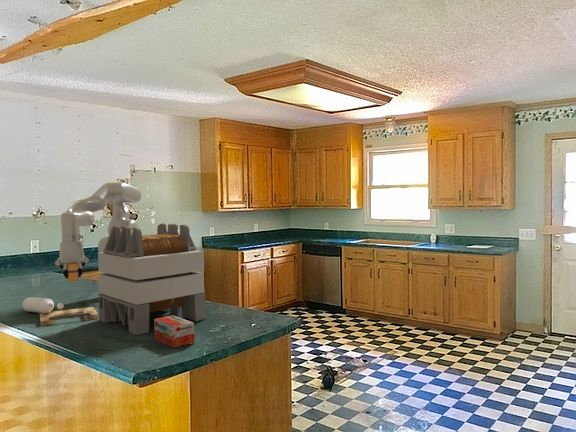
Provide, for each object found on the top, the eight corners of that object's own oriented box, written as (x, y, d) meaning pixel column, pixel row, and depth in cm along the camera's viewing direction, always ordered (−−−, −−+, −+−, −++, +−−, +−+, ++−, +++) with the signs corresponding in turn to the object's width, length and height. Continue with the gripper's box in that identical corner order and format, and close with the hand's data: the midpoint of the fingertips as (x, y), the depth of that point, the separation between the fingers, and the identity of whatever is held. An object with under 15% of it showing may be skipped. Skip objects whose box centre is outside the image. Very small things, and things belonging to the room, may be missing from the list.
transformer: (207, 319, 203) (205, 224, 201) (136, 336, 180) (133, 228, 178) (165, 306, 227) (163, 221, 225) (97, 320, 204) (94, 225, 202)
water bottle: (21, 311, 219) (41, 314, 202) (23, 297, 220) (43, 298, 203) (41, 311, 225) (62, 313, 208) (42, 297, 226) (64, 298, 209)
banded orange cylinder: (78, 278, 226) (77, 262, 225) (79, 280, 222) (78, 263, 221) (67, 279, 224) (66, 263, 223) (67, 281, 219) (66, 264, 219)
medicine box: (195, 344, 170) (194, 322, 169) (175, 349, 164) (174, 326, 164) (173, 335, 181) (172, 314, 180) (153, 340, 175) (153, 318, 175)
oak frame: (93, 311, 220) (93, 304, 220) (98, 318, 206) (98, 311, 206) (39, 317, 210) (39, 310, 210) (40, 326, 196) (40, 318, 195)
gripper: (89, 236, 229) (91, 274, 230) (50, 239, 220) (52, 278, 222) (91, 238, 222) (93, 276, 223) (50, 241, 214) (53, 281, 215)
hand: (73, 277), depth 222 cm, fingers closed on banded orange cylinder, 5 cm apart
